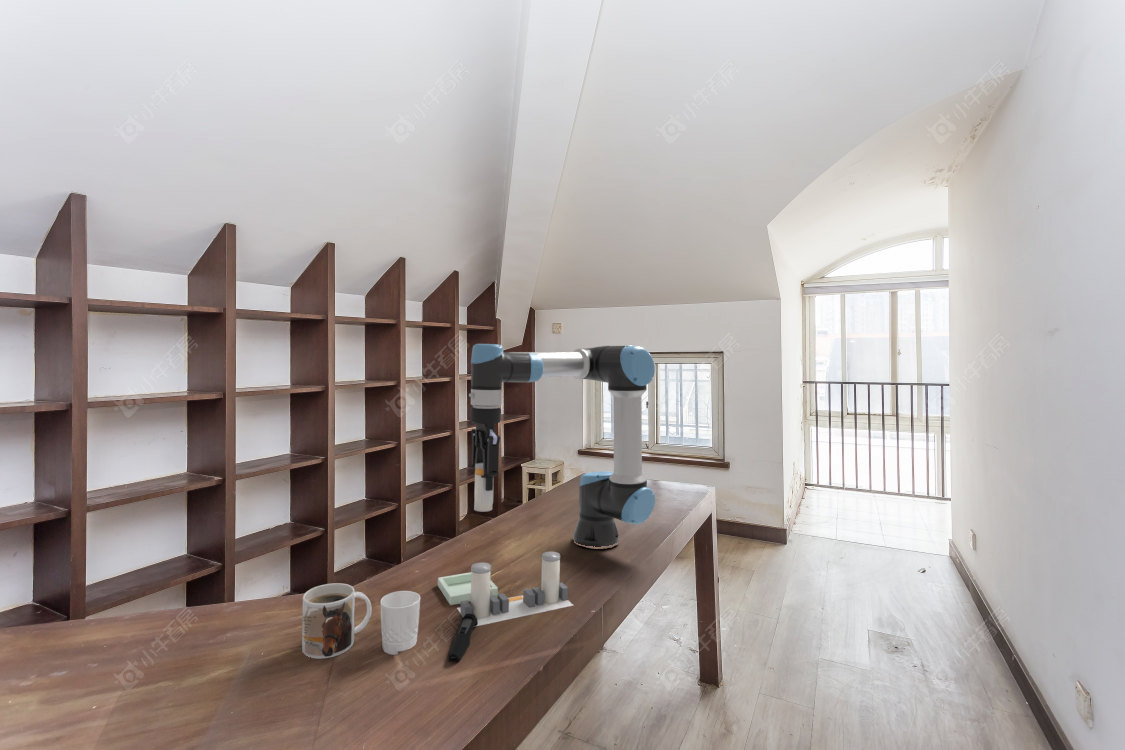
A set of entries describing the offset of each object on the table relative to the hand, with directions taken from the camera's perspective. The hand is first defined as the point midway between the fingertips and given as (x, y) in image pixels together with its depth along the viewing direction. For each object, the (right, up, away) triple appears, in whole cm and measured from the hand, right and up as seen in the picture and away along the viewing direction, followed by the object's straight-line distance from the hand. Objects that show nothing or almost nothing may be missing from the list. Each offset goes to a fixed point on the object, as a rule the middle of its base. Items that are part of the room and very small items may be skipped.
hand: (483, 500), depth 133 cm
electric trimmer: (-1, -25, -21) cm, 33 cm away
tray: (-5, -24, +3) cm, 25 cm away
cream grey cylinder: (+16, -24, 0) cm, 29 cm away
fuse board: (+8, -25, -4) cm, 27 cm away
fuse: (0, -24, -9) cm, 26 cm away
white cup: (-14, -25, -22) cm, 36 cm away
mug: (-28, -25, -22) cm, 43 cm away
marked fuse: (0, -2, 0) cm, 2 cm away
